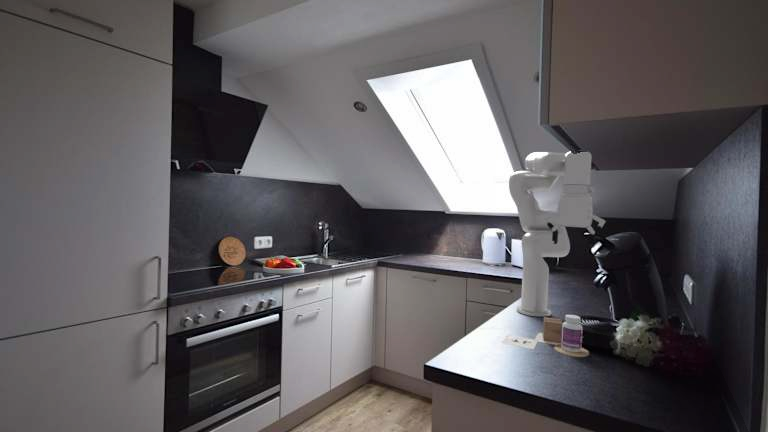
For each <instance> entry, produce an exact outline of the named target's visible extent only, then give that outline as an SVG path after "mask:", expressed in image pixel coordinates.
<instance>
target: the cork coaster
mask: <svg viewBox="0 0 768 432" xmlns="http://www.w3.org/2000/svg"><path fill="white" fill-rule="evenodd" d="M553 348H554V350H555V351H556V352H557V353H560V354H562V355H565V356H569V357H575V358H585V357H588V356H590V351H589V350H587V349H586V348H584V347H582V349H581V352H577V353H575V352H569V351H566V350H564V349H562V347H561V344H558V345H554V347H553Z"/></svg>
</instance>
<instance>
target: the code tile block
mask: <svg viewBox="0 0 768 432" xmlns="http://www.w3.org/2000/svg"><path fill="white" fill-rule="evenodd" d="M534 341H538V342H537V343H539V342H540V343H544V344H548V345H554V346H555V345H558V344H561V343H556V342H549V341H544V340H543V332H538V333H537V334H536V336H535V338H534Z"/></svg>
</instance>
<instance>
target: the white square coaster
mask: <svg viewBox="0 0 768 432" xmlns="http://www.w3.org/2000/svg"><path fill="white" fill-rule="evenodd" d="M511 335H512V334H507V336H505V338H504V339H503V340H502V342H501V344H504V345H510V346H516V347H521V348H525V349H528V350H534V349H535V347H536V345H537V343H539V342H538V341H534V340H535V338H534V339H533V338H527V337H522V336H519V335H513V336H515V337H516V336H517V337H518V338H517V337H516V338H514V337H513V336H512V337H513V339H512V338H511V339H509V338H508V337H510V336H511Z"/></svg>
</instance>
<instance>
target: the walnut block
mask: <svg viewBox="0 0 768 432" xmlns="http://www.w3.org/2000/svg"><path fill="white" fill-rule="evenodd" d="M562 324H563V321H562V319H561V318H553V317H548V316H546V317H543V327H542V328H543V329H542V333H543V340H544V341H549V342H556V343H561V340H562Z"/></svg>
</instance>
